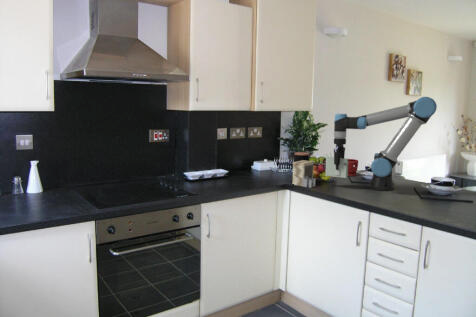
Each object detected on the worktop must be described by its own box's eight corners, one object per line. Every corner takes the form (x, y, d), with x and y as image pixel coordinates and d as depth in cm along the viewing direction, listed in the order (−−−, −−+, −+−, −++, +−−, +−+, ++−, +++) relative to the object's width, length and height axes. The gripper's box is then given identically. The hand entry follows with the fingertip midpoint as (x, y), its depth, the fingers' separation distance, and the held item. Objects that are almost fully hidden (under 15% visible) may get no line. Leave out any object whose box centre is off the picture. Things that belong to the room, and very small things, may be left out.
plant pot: (346, 173, 312) (347, 158, 310) (360, 175, 302) (361, 160, 300) (336, 174, 304) (337, 159, 302) (350, 177, 294) (351, 161, 292)
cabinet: (313, 183, 270) (314, 161, 268) (303, 186, 258) (304, 163, 256) (302, 181, 275) (302, 160, 273) (291, 184, 264) (292, 162, 261)
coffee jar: (309, 179, 284) (310, 154, 282) (294, 178, 284) (295, 154, 282) (307, 176, 295) (308, 152, 292) (292, 175, 295) (293, 152, 292)
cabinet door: (347, 177, 252) (348, 158, 250) (345, 178, 248) (345, 159, 247) (327, 175, 260) (327, 157, 258) (324, 175, 257) (325, 157, 255)
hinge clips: (315, 186, 260) (315, 177, 259) (310, 187, 255) (311, 178, 254) (306, 184, 263) (307, 176, 262) (302, 186, 258) (302, 177, 258)
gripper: (339, 136, 259) (338, 172, 262) (329, 138, 246) (328, 175, 249) (350, 137, 255) (349, 173, 258) (340, 139, 242) (339, 176, 245)
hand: (338, 174), depth 254 cm, fingers closed on cabinet door, 3 cm apart
